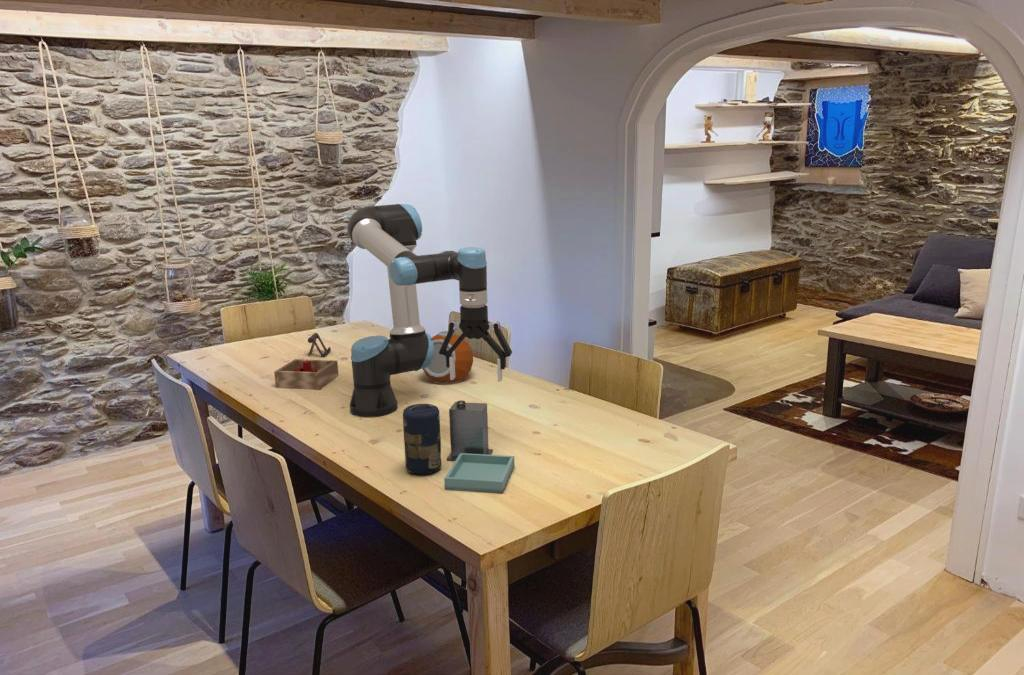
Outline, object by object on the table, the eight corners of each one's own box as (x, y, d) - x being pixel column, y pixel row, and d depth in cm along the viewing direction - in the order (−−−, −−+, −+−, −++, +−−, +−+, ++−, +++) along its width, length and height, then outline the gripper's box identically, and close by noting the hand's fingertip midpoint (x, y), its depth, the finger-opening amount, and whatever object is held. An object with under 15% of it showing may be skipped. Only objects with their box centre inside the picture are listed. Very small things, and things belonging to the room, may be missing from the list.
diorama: (330, 384, 269) (328, 361, 266) (295, 387, 265) (293, 365, 263) (328, 375, 279) (326, 354, 276) (295, 379, 275) (292, 357, 273)
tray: (444, 489, 184) (444, 478, 183) (460, 463, 199) (460, 453, 198) (502, 493, 181) (502, 481, 180) (514, 466, 196) (514, 456, 195)
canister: (406, 462, 200) (402, 399, 195) (442, 460, 201) (439, 397, 196) (404, 478, 191) (400, 411, 186) (442, 475, 191) (438, 409, 187)
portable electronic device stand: (325, 357, 303) (323, 337, 301) (306, 358, 303) (304, 338, 301) (331, 351, 311) (329, 332, 309) (312, 352, 311) (310, 332, 309)
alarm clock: (412, 383, 267) (410, 336, 263) (435, 369, 283) (433, 325, 279) (460, 388, 260) (459, 340, 256) (481, 374, 276) (480, 328, 272)
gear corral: (275, 387, 265) (274, 371, 264) (296, 374, 281) (295, 359, 279) (320, 389, 262) (318, 373, 261) (338, 376, 277) (337, 360, 276)
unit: (446, 460, 201) (444, 406, 197) (454, 449, 208) (452, 396, 204) (486, 463, 198) (484, 408, 195) (492, 451, 206) (491, 398, 202)
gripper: (425, 307, 202) (429, 381, 207) (516, 308, 197) (517, 385, 202) (433, 301, 209) (437, 373, 214) (521, 302, 204) (522, 376, 209)
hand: (476, 379), depth 208 cm, fingers open, 13 cm apart
